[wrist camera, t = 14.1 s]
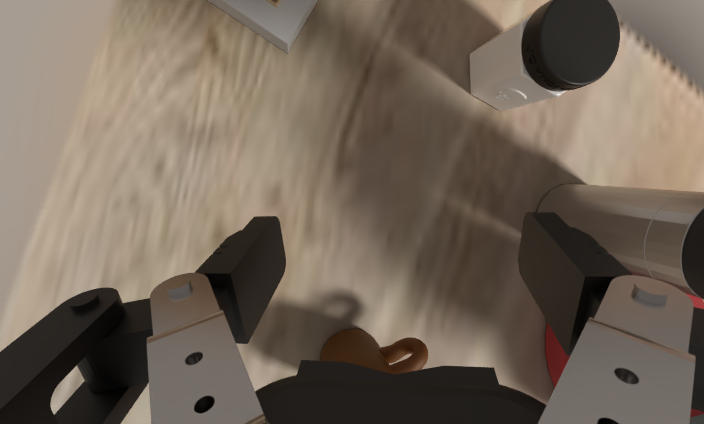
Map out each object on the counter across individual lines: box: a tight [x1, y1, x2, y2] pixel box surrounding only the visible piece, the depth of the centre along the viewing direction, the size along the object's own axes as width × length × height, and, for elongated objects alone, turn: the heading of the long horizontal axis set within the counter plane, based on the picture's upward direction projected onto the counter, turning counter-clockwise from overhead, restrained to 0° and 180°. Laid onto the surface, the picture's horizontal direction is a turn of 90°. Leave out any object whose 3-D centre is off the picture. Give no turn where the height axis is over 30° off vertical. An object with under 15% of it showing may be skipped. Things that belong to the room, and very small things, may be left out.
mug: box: [320, 329, 428, 374], centre depth 39 cm, size 12×8×9 cm, turn 123°
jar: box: [469, 0, 620, 111], centre depth 36 cm, size 9×8×12 cm
